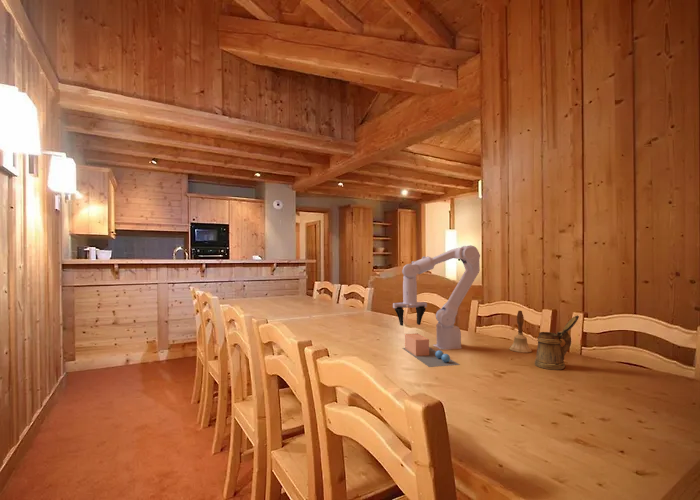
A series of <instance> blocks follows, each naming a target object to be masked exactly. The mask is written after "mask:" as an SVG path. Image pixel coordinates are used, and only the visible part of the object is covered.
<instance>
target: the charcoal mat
mask: <svg viewBox="0 0 700 500" xmlns="http://www.w3.org/2000/svg"><path fill="white" fill-rule="evenodd" d="M402 350H404V351H406V353H408V354H410V355H411V356H413V357H414V358H415V359H416V360H419V361H420V362H421V363H422V364H424V365H425V366H426V367H428V368H435V367H437V368H438V367H448V366H450V367H451V366H460V365H461V364H460V363H458V362H456V361H454V360H453V359H451V358H450V361H449V362H447V363H446V362H443V361H442V359H438V358H437V357H436V355H435V353H436V351H437V350H435V349H434V348H432V347H430V346H429V355H426V356H415V355H413V354H412V353H410V352H409V351H408V350H406V349H405V347H403V348H402Z"/></svg>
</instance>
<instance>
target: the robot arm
mask: <svg viewBox="0 0 700 500" xmlns="http://www.w3.org/2000/svg"><path fill="white" fill-rule="evenodd" d="M480 258H481V254H480V251H479V249H478V248H477V247H476V246H475V245H471V244H470V245H463V246H461V247H456V248H453V249H449V250H447V251H445V252H443V253H440V254H438V255H435V256H433V257H431V256H426V255H424V256H422V257H421V259H418V260H413V261H411V263H406V264H405V265H404V266H403V267H402V270H401V273H402V275H403V277H402V279H403V281H402V298H403V299H402V302H393V303H392V309H394V311H395V314H396V315H397V318H398V322H399V325H400V326H404V313H405V309H406V308H409V309H410V308H415V311H416V324H417V325H418V326H420V325H421V324H422V323H421V322H422V319H423V316H424V314H425V313H426V310H427V308H428V302H426V301H425V302H424V301H418V295H417V294H418V290H417V289H418V286H417V285H418V284H417V282H418V281H417V276H418V275H421V274H424V273H426V272H429V271H431V270H433V269H434V268H435V266H436V265H438V264H440V263H444V262H447V261H449V260H452V259H458V260H460V262H462V263H463V264H462V265H463V266H464V269H465V270H464V273H463V274H462V275H461V277H460V279H459V281H458V282H457V284H456V286H455V287H454V289H453V291H452V293H451V294H450V296H449V297H448V299H447V301H446V302H445V303H444V304H443V306H441V308H439V309H438V310H437V311H436V313H435V319H436V321H437V323H436V329H435V330H436V344H435V343H434V344H432V346H434V347H435V348H437V349H438V350H441V351H443V350H455V349H457V350H459V349H462V332H461V329H460V327H459V326H457V325H455V323H456V317H457V316H458V315H457V314H458V312H459V311H458V310H459V307H460V306H461V304H462V302H463V300H464V298H465V297H466V295H467V293H468V292H469V290H470V288H471V286H472V285H473V283H474V282H475V280H476V278H477V276H478V275H479V273H480ZM404 308H405V309H404Z"/></svg>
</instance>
